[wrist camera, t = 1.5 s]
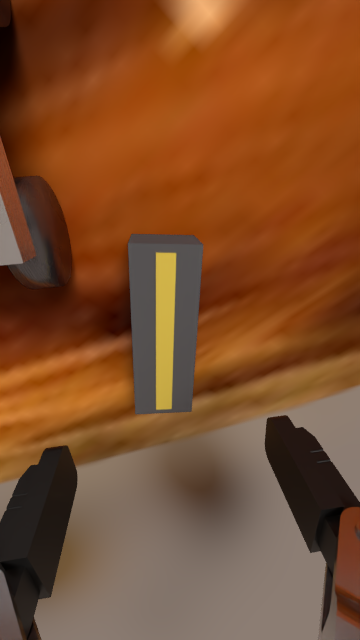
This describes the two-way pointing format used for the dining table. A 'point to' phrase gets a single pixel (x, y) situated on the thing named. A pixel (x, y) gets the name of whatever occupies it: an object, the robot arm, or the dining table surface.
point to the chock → (164, 319)
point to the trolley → (31, 222)
